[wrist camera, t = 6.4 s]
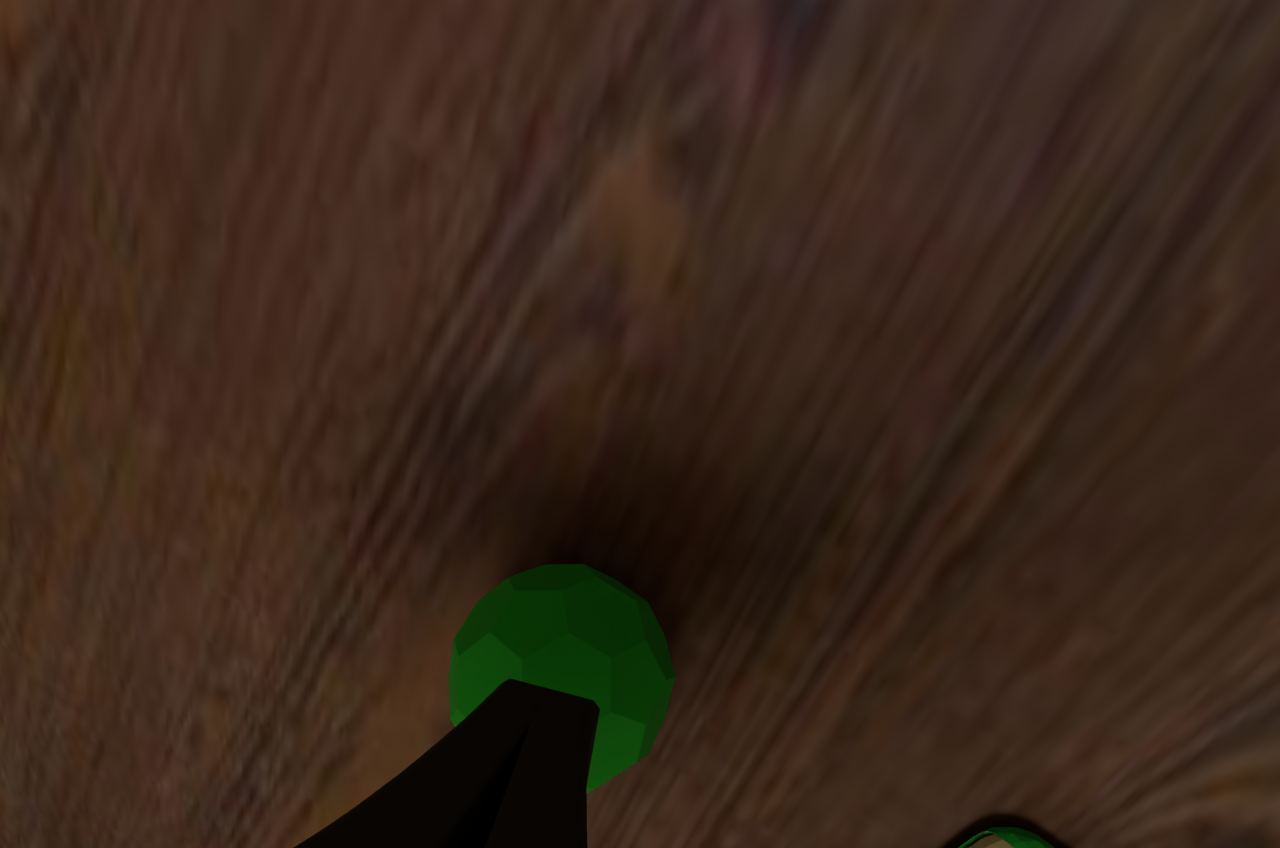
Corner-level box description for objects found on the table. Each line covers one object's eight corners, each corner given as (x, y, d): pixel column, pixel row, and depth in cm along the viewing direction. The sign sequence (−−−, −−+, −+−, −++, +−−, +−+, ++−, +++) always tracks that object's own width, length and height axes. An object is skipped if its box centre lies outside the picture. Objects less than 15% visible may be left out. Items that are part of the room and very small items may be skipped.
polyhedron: (718, 676, 22) (690, 822, 17) (548, 721, 23) (483, 866, 19) (633, 502, 21) (580, 612, 16) (460, 562, 22) (369, 678, 18)
